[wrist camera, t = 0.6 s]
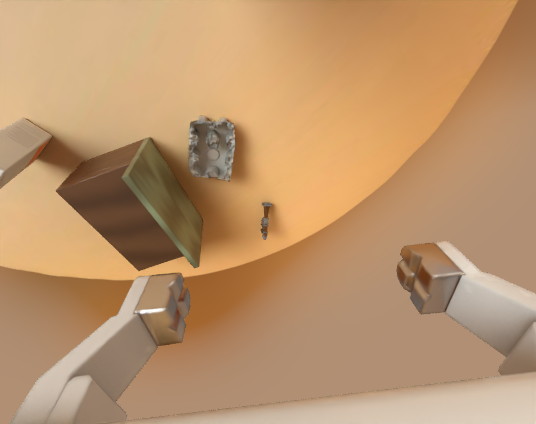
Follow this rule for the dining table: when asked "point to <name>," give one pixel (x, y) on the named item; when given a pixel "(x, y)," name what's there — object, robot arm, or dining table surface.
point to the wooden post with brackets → (265, 219)
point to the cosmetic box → (19, 148)
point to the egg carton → (211, 148)
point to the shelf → (136, 205)
